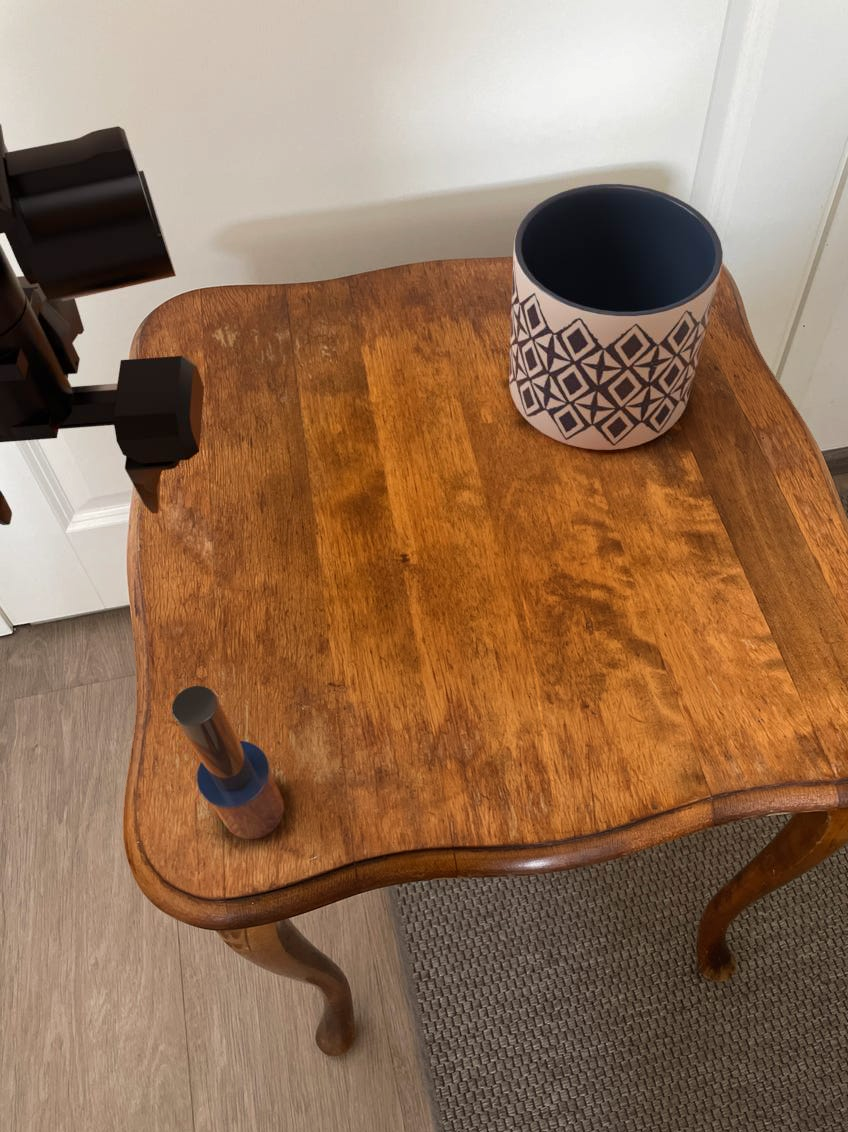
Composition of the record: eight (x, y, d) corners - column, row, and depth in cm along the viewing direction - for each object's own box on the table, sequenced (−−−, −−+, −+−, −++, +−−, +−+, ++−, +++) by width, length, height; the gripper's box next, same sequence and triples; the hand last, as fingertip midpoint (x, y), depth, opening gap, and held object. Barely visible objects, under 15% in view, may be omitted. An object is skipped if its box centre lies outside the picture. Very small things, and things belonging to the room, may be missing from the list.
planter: (685, 332, 87) (718, 187, 75) (690, 460, 79) (729, 322, 66) (514, 322, 88) (520, 177, 75) (502, 448, 79) (506, 309, 67)
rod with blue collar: (194, 760, 59) (145, 684, 50) (262, 738, 60) (225, 658, 51) (209, 823, 57) (161, 754, 48) (280, 798, 57) (245, 726, 49)
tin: (222, 842, 61) (199, 809, 56) (225, 785, 64) (203, 749, 59) (283, 836, 62) (266, 803, 57) (284, 780, 64) (267, 743, 59)
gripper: (170, 200, 51) (235, 410, 64) (-186, 222, 50) (-45, 431, 63) (154, 341, 45) (229, 540, 58) (-250, 368, 44) (-79, 565, 57)
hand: (82, 513), depth 59 cm, fingers open, 9 cm apart
